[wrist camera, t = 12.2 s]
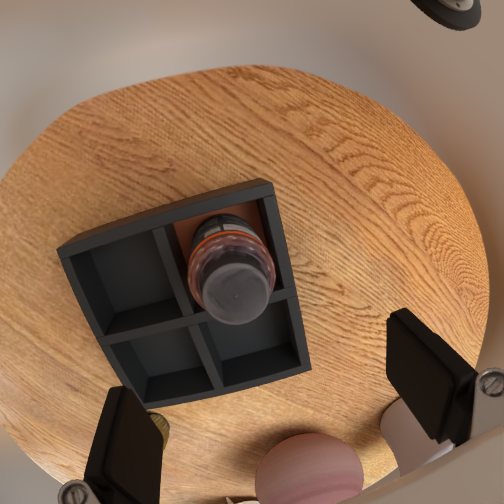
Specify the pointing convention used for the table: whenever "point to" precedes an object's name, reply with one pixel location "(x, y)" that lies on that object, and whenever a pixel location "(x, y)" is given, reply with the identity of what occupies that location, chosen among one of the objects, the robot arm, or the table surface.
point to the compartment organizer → (184, 301)
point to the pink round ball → (309, 471)
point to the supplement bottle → (230, 269)
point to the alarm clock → (244, 503)
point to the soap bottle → (409, 439)
